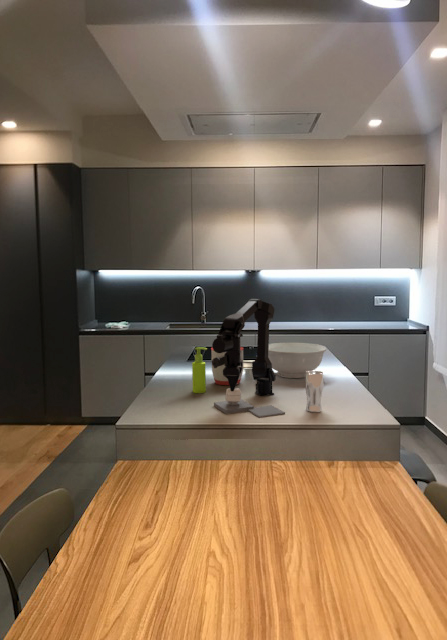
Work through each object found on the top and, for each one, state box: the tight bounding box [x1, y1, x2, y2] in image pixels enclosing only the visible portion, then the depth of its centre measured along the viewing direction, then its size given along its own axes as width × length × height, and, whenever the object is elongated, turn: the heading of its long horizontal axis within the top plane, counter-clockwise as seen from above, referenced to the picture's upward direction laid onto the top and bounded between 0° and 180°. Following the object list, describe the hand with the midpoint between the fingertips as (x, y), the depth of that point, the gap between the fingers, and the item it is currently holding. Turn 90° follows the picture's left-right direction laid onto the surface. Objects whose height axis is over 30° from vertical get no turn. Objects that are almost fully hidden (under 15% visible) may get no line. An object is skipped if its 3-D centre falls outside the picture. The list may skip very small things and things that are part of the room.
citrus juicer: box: [210, 346, 244, 387], centre depth 243 cm, size 16×17×20 cm
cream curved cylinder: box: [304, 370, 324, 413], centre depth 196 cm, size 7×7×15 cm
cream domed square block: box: [225, 387, 242, 401], centre depth 201 cm, size 6×6×4 cm
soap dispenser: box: [191, 346, 208, 394], centre depth 227 cm, size 6×7×20 cm
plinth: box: [213, 398, 255, 415], centre depth 201 cm, size 12×12×6 cm
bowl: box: [268, 342, 327, 379], centre depth 258 cm, size 32×32×15 cm
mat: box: [247, 404, 286, 419], centre depth 196 cm, size 11×11×1 cm
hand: (233, 388), depth 201 cm, fingers open, 9 cm apart
